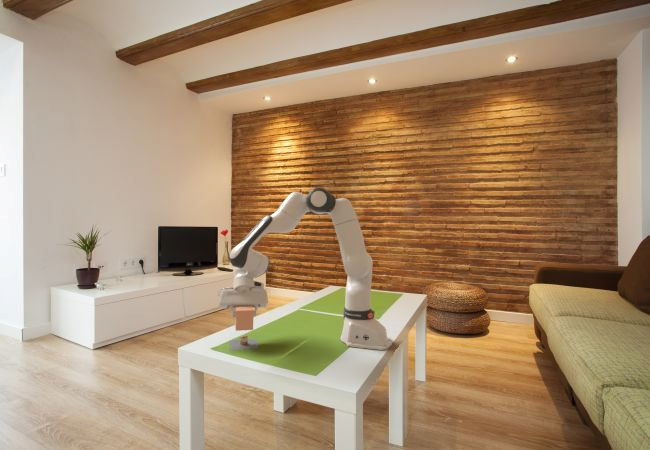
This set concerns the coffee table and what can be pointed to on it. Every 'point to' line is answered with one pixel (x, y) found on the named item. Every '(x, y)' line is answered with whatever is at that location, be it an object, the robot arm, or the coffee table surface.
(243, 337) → the tan rounded cylinder
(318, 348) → the coffee table surface
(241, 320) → the peach foam cube
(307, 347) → the coffee table surface
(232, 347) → the mat
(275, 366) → the coffee table surface
